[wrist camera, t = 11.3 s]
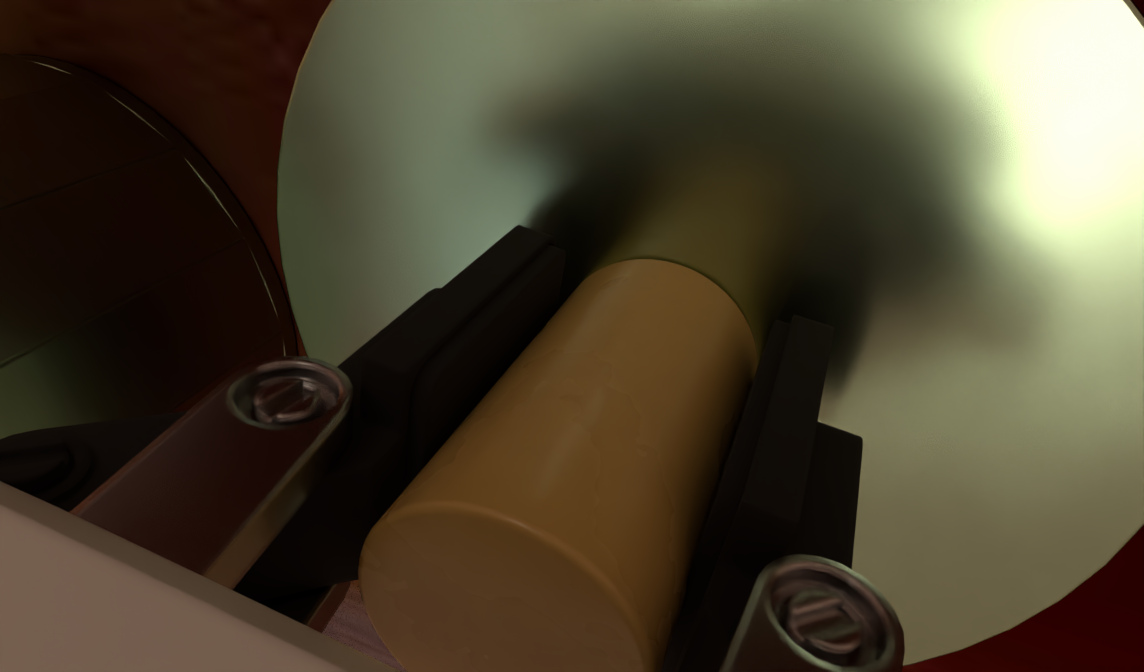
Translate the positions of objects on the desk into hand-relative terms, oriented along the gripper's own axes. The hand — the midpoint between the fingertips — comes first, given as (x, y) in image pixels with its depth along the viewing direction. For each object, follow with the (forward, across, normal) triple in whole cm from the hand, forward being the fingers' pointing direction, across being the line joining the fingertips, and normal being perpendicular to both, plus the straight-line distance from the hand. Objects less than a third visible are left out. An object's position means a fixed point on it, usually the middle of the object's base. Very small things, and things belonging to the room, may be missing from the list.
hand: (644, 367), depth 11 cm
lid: (+1, 0, 0) cm, 1 cm away
